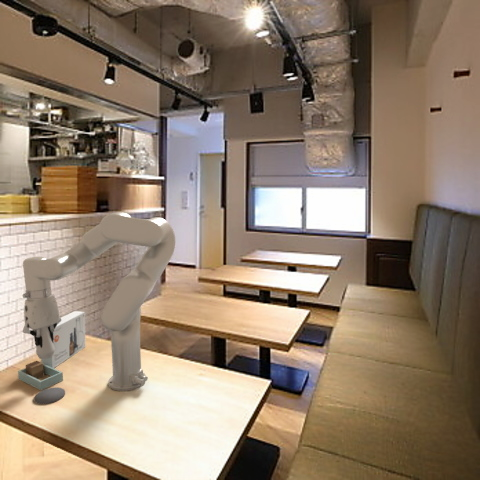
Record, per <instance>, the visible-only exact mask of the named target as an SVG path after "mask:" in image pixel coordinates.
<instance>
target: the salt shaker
mask: <svg viewBox="0 0 480 480" xmlns="http://www.w3.org/2000/svg"><path fill="white" fill-rule="evenodd" d="M49 326H50V325H49ZM49 326H46V327H43V328H40V336H42V344H43V345H42V348H41V347H40V345H39V346H36V349H35V351H36V352H35V353H36V356H37V357H38V358H39V360H41V359H48V358H50V357H52V356H53V354H54V351H55V348H54V345H53V342H52V339H51V337H50V332H49V329H48V327H49Z"/></svg>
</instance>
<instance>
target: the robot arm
mask: <svg viewBox="0 0 480 480" xmlns="http://www.w3.org/2000/svg"><path fill="white" fill-rule="evenodd" d="M172 227H173V226H172V225H171V224H170V222H169V221H168V220H166V219H164V218H163V217H159V216H158V217H155V216H154V217H151V218H148V219H147V218H139V217H138V218H137V217H132V216H131V215H130V214H129V213H126V212H123V211H117V212H113V213H108V214H107V215H105V216H104V217H103V218H102V219H101V220H100V222H99V223H98V224H97V225H96V226H93V228H91V229H90V230H88V231H86V232H85V233H84V234H83V235H82V239H81V240H80V241H79V242H78V243H77V244H75V245H74V246H72V247H70V249H68V250H66V251H65V252H63V253H60V254H58V255H56V256H53V257H50V258H47V257H45V256H34V257H28V258H25V259H24V260H23V262H22V268H23V276H24V283H25V293H23V294H22V298H23V299H24V307H23V309H24V312H23V314H24V315H23V316H24V317H23V319H24V320H23V321H24V326H23V329H22V331H21V332H22V333H24V334H28V335H31V336H32V337H33V338H34V344H35V347H37V346H39V345H40V347H41V348H42V345H43V344H42V336H40V328H43V327H46V326H49V325H50V326H49V327H48V329H49V332H50V337H51V339H52V342H53V340H54V338H53V332H54V329H55V327H56V326H57V324H58V323H60V322H61V318H62V317H60V316H61V315H60V310H59V306H58V302H57V299H56V296H55V294H53V293H52V285H51V281H59V280H61V279H64V278H65V277H67V276H69V275H71V274H73V273H75V272H77V271H78V270H79V269H81V268H82V267H84V266H85V265H87V264H88V263H89V262H91V261H92V260H94V259H96V258H98V257H99V256H101V255H102V254H103V253H105V252H107V251H108V250H109V249H110V248H112V247H114V246H116V244H124V245H125V244H127V245H133V246H138V247H140V246H141V247H147V248H146V251H145V252H144V253H143V255H142V256H141V258H140V260H139V262H138V263H137V265H136V266H135V267H134V269H132V270H131V272H129V273H128V274H127V275H126V276H125V277H123V278H122V279H121V281H120V282H119V283H118V284H117V286H116V288H115V289H114V291H113V293H112V294H111V296H110V297H109V299H108V300H107V302H106V304H105V305H104V307H103V308H102V311H101V314H100V321H101V324H102V325H103V327H104V328H105V329H106V330H107V331H109V332H110V334H111V336H110V338H111V339H110V340H111V341H110V343H111V345H110V346H111V363H112V366H111V367H112V376H110V377H109V379H108V381H107V382H108V386H109V388H110V389H112V390H114V391H119V392H123V391H124V392H125V391H131V390H135V389H137V388H140V387H142V386H145V384H146V382H147V381H148V379H149V378H148V376H147V375H146V374H145V373H144V370H143V369H142V357H141V314H142V313H141V312H142V306H143V304H144V303H145V301H146V299H147V298H148V297H149V296H150V294H151V293H152V292H153V290H154V288H155V286H156V285H157V284H156V283H157V282H158V280H159V279H160V277H161V276H162V274H163V273H164V271H165V269H166V267H167V266H168V264H169V263H170V261H171V259H172V257H173V255H174V252H175V250H176V249H175V248H176V235H175V232H174V229H173V228H172ZM25 298H26V299H25Z"/></svg>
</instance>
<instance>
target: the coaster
mask: <svg viewBox="0 0 480 480" xmlns="http://www.w3.org/2000/svg"><path fill="white" fill-rule="evenodd" d="M65 395H66V390H65V389H64V388H62V387H50V388H49V387H47V388H45V389H43V390H39V392H37V393H36V394H35V395H34V397H33V400H34V402H35V403H36V404H38V405H48V404H54V403H56V402H58V401H60V400H61V399H63V398H64V397H65Z"/></svg>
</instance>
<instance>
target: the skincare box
mask: <svg viewBox="0 0 480 480" xmlns="http://www.w3.org/2000/svg"><path fill="white" fill-rule="evenodd" d="M60 318H61V322H60V323H58V324H57V326H56V327H55V329H54V332H53V338H54V340H53V345H54V348H55V351H54V354H53V356H52V357H50V358H48V359H40V362H41V363H43V364H45V365H47V366H49V367H52V368H54V369H56V367H58V366H59V365H61V364H62V363H64V362H65V361H67V360H68V359H69V358H72V357H73V356H75V355H76V354H77V353H79V352H80V351H81V350H83V349H85V348H86V312H85V311H80V310H74V311H72V312H70V313H67V314H65V315H63V316H62V317H60Z"/></svg>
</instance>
